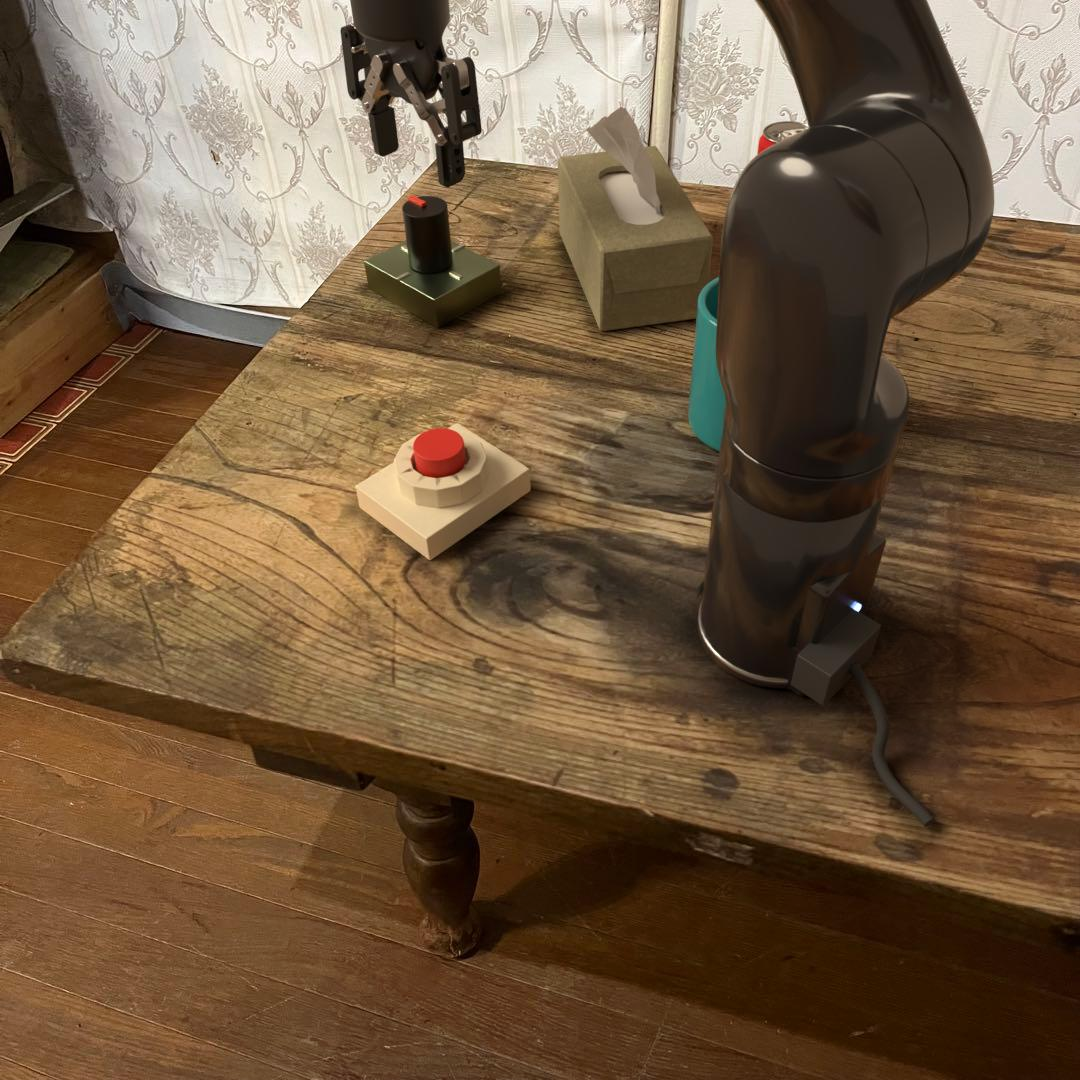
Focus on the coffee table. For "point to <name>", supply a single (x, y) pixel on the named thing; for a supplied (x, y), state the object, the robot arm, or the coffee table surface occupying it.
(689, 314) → the tissue box
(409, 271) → the control panel
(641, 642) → the coffee table surface
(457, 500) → the switch box
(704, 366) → the cup
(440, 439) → the power button
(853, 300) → the robot arm
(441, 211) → the dial
